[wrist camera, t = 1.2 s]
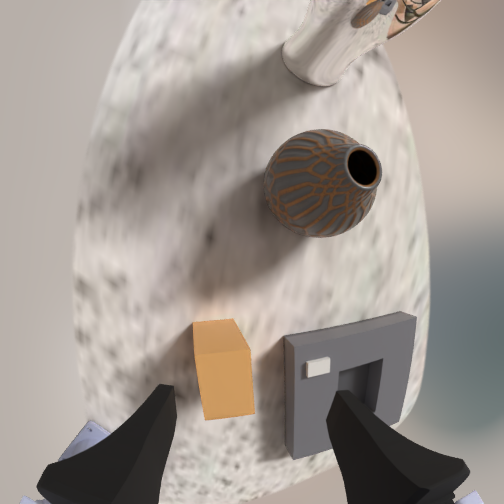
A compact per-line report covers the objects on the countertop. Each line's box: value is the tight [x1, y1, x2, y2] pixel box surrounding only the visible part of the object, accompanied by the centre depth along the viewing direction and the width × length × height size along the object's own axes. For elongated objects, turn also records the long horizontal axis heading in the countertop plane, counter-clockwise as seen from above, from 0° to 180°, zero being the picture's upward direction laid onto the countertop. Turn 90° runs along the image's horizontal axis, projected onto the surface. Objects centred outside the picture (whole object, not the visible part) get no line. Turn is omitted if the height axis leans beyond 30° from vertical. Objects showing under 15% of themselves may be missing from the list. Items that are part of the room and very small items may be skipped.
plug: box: [193, 319, 255, 420], centre depth 17 cm, size 4×3×6 cm, turn 5°
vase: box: [264, 129, 382, 238], centre depth 17 cm, size 7×7×9 cm
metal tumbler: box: [282, 0, 441, 86], centre depth 13 cm, size 7×7×15 cm
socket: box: [284, 311, 417, 460], centre depth 21 cm, size 12×12×3 cm
